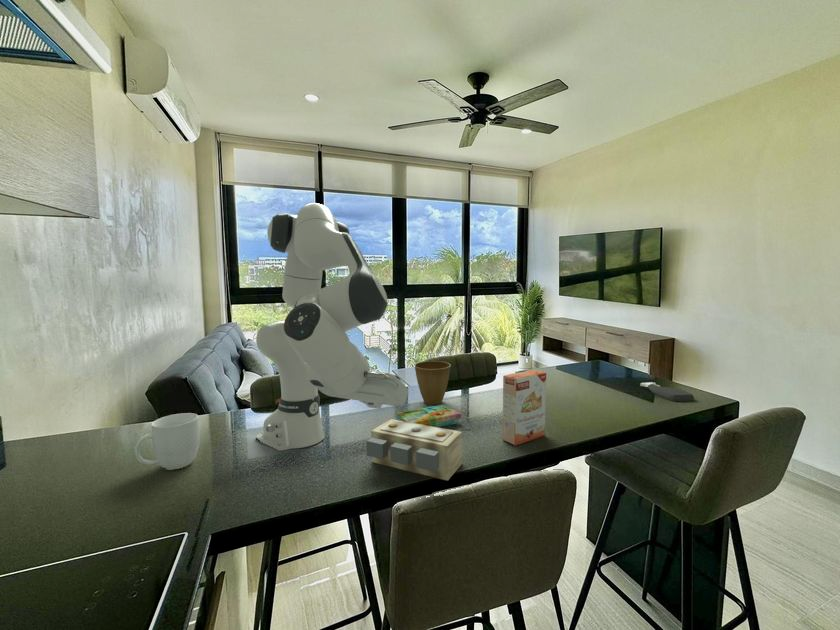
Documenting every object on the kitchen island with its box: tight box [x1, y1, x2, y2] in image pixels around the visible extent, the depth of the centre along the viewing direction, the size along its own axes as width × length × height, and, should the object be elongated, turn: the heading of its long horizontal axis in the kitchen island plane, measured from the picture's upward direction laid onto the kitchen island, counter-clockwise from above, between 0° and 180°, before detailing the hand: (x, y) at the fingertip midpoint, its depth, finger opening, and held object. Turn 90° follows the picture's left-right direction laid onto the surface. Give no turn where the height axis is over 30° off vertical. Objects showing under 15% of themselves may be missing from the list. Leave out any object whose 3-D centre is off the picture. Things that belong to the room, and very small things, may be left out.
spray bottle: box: [640, 381, 695, 402], centre depth 166 cm, size 3×11×24 cm
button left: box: [366, 437, 388, 459], centre depth 100 cm, size 5×2×4 cm, turn 62°
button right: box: [416, 448, 439, 472], centre depth 93 cm, size 5×2×4 cm, turn 62°
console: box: [370, 418, 463, 482], centre depth 104 cm, size 23×10×10 cm, turn 62°
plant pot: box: [414, 360, 452, 406], centre depth 157 cm, size 15×15×16 cm
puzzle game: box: [395, 403, 462, 428], centre depth 134 cm, size 12×5×20 cm
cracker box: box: [501, 369, 547, 447], centre depth 119 cm, size 14×6×21 cm, turn 123°
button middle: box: [391, 443, 413, 465], centre depth 97 cm, size 5×2×4 cm, turn 62°
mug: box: [134, 412, 201, 468], centre depth 104 cm, size 15×11×13 cm
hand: (376, 405), depth 83 cm, fingers closed
